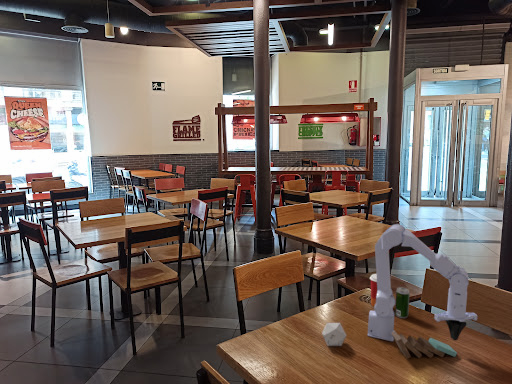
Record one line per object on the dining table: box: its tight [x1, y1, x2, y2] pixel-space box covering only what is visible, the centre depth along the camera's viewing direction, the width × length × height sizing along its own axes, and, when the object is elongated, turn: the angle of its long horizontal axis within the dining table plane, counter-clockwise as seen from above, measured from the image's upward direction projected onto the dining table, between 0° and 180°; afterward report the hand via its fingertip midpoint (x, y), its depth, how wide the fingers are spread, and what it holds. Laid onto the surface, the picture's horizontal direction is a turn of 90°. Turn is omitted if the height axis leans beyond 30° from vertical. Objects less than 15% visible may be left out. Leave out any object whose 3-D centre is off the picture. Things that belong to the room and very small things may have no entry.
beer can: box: [394, 286, 410, 319], centre depth 157 cm, size 5×5×12 cm
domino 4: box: [416, 336, 446, 358], centre depth 129 cm, size 2×5×8 cm
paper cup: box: [369, 273, 378, 308], centre depth 167 cm, size 8×8×14 cm
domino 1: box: [391, 330, 412, 360], centre depth 128 cm, size 2×5×8 cm, turn 2°
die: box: [321, 322, 347, 347], centre depth 136 cm, size 8×9×10 cm
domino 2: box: [398, 333, 423, 359], centre depth 129 cm, size 2×5×8 cm
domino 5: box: [428, 337, 458, 358], centre depth 130 cm, size 2×5×8 cm
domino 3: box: [406, 335, 435, 359], centre depth 129 cm, size 2×5×8 cm
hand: (454, 338), depth 129 cm, fingers closed
